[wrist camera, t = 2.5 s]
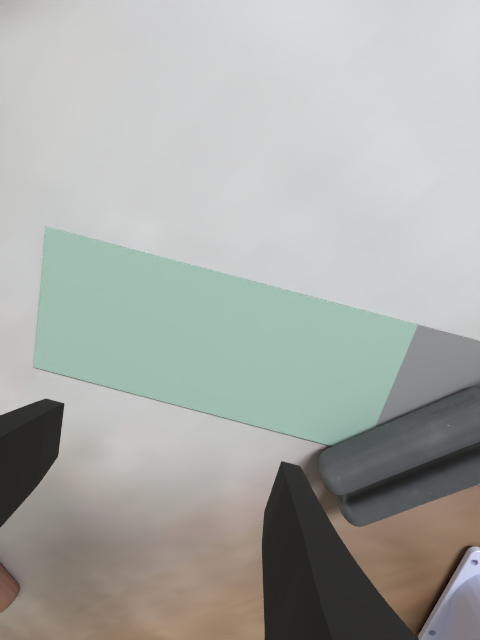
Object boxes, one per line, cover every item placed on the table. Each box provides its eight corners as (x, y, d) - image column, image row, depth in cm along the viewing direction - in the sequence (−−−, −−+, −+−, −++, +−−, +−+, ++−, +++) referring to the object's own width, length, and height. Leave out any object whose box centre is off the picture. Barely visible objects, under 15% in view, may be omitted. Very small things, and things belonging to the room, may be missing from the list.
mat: (618, 521, 22) (619, 522, 22) (34, 366, 22) (33, 367, 22) (704, 400, 20) (707, 401, 20) (46, 226, 20) (45, 227, 20)
